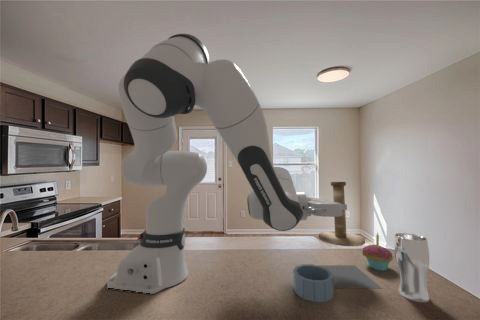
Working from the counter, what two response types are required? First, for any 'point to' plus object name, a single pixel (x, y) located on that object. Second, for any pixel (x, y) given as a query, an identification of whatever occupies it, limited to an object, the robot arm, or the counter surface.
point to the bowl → (313, 283)
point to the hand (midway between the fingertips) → (342, 205)
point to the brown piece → (340, 223)
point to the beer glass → (412, 265)
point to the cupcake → (377, 255)
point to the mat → (350, 277)
